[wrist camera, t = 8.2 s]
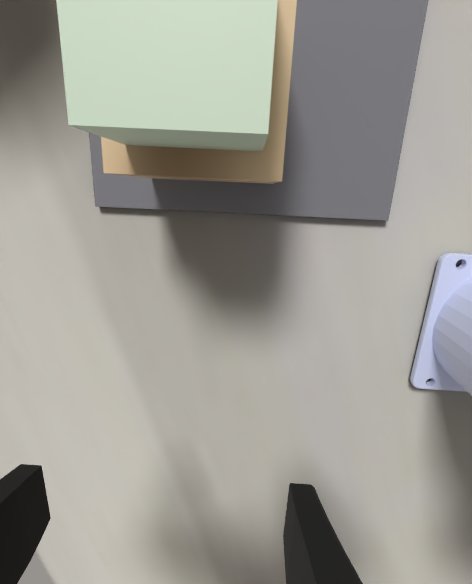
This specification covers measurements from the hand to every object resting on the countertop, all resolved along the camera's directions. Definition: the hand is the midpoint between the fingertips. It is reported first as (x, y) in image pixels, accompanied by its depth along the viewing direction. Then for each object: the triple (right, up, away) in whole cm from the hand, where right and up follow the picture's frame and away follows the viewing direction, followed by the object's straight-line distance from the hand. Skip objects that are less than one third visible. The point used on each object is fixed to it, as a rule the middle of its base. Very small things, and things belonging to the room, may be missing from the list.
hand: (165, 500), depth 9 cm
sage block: (+1, +13, 0) cm, 13 cm away
